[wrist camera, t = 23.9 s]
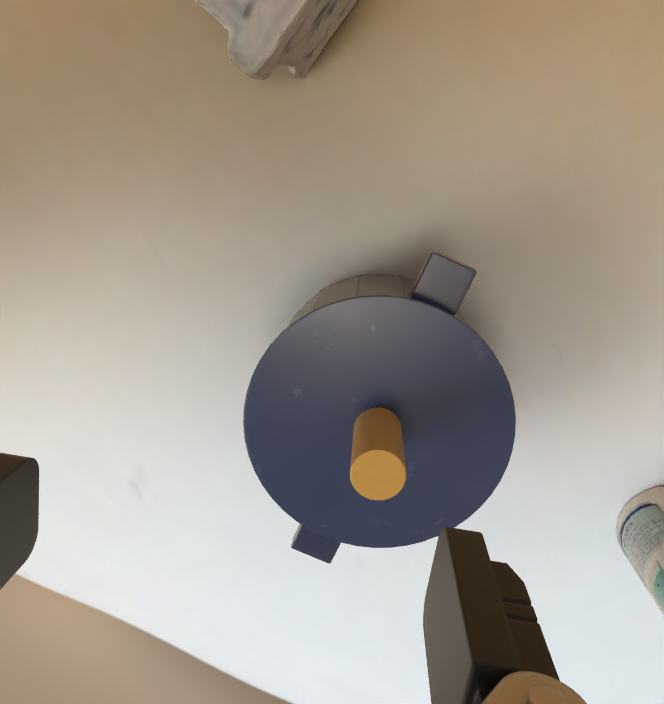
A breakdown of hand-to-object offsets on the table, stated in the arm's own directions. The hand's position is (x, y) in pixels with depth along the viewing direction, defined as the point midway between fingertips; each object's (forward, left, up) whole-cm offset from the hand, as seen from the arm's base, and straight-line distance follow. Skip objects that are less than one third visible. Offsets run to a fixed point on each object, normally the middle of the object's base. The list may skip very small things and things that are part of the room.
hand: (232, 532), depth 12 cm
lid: (+5, -4, -19) cm, 20 cm away
